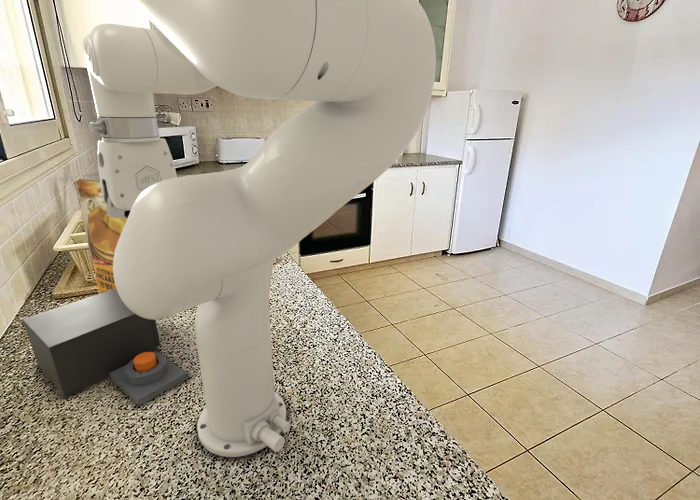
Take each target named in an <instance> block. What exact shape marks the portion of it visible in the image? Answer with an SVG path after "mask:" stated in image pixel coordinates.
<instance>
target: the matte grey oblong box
mask: <svg viewBox="0 0 700 500" xmlns="http://www.w3.org/2000/svg"><path fill="white" fill-rule="evenodd" d="M21 321H22V323H23V325H24V328H25V331H26V332H25V333H26V335H27V337H28V340H29V343H30V346H31V349H32V352H33V354H34V357H35V360H36V363H37V366H38V367H39V369H40V370H41V371H42V372H43V374H44V375H45V376H46V377H47V378H48V379H49V381H50V382H51V383H52V384H53V386H54V387H55V388H56V389H57V390H58V392H59V393H60V394H61V396H63V398H64V399H67V398H69V397H71V396H73V395H75V394H77V393H79V392H81V391H83V390H85V389H87V388H88V387H91V386H93V385H96V384H98V383H100V382H101V381H103V380H106V379H107V378H110V375H109V373H111V372H113V371H115V370H117V369H119V368H121V367H123V366H125V365H127V364H128V363H129V362H130V361H131V360H133V359H134V358H135V357H136V356H137V355H139V354H141V353H144V352H154V351H157V350H156V349H157V348H155V344H154V339H153V334H152V329H151V324H150V319H146V318H143V317H140V316H138V315H137V314H135V313H133V312H132V311H131V310H130V309H129V308H128V307H127V306H126V305H125V304H124V302H123V301H122V300H121V298H120V296H119V294H118V292H117V289H116V288H115V289H112V290H109V291H106V292H103V293H100V294H99V293H98V294H95V295H92V296H91V295H90V296H89V297H86V298H82V299H79V300H76V301H73V302H70V303H67V304H63V305H61V306H58V307H55V308H53V309H49V310H46V311H42V312H40V313H37V314H34V315H31V316H27V317H25V318H22V320H21Z"/></svg>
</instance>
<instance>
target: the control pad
mask: <svg viewBox="0 0 700 500" xmlns="http://www.w3.org/2000/svg"><path fill="white" fill-rule="evenodd" d="M153 353H154V354H155V357H156V361H157V365H156V366H155V367H154V368H152V369H151V370H149V371H144V372H137V371H136V370H135V365H134V359H133V360H131V361H130V362H129V363H128V364H127V365H125V366H123V367H121V368H119V369H117V370H115V371H113V372H111V373H109V375H110V376H109V378H110V380H111V381H112V382H113V383H114V384H116V386H118V387H119V389H121V390H122V392H124V393H125V394H126V395H127V397H129V398H130V399H131V400H132V401H133V402H134V403H135V404H136V405H137V406H142V405H143V404H145V403H147V402H148V401H151V400H152V399H154V398H156V397H157V396H159V395H161V394H163V393H164V392H166V391H168V390H169V389H172V388H173V387H174V386H176V385H179V384H180V383H181V382H183V381H185V380H187V379H188V376H187V372H186V371H184V370H183V369H182V368H181V367H179V366H177V365H176V364H175V363H174V362H173V361H171V360H170V359H168V358H167V357H166V356H165V355H164V354H162V353H160V352H159V351H157V350H156V351H154V352H153Z"/></svg>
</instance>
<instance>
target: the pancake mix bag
mask: <svg viewBox="0 0 700 500" xmlns="http://www.w3.org/2000/svg"><path fill="white" fill-rule="evenodd" d="M72 183H73V185H74V187H75V190H76V191H75V192H76V194H77V200H78V204H79V207H80V212H81V217H82V224H83V227H84V231H85V233H84V234H85V239H86V243H87V246H88V249H89V252H90V256H91V259H92V263H93V269H94V276H95V281H96V288H97V292H98V294H100V293H103V292H106V291H109V290H112V289H115V288H116V286H115V282H114V277H113V258H114V253H115V249H116V246H117V243H118V240H119V238H120V235H121V233H122V231H123V228H124V226H125V223H126V221H127V218H112V217H110V216H108V215H107V204H106V203H105V201H104V198H103V195H102V190H101V184H100V180H96V179H83V178H82V179H81V178H79V179H76V180H75V181H73V182H72Z"/></svg>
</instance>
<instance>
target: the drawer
mask: <svg viewBox="0 0 700 500" xmlns="http://www.w3.org/2000/svg"><path fill="white" fill-rule="evenodd" d="M150 324H151V329H152V334H153V339H154V344H155V349H157V348H158V347H159V346H161V341H160V336H159V331H158V330H159V329H158V326H157V319H156V320H153V319H150Z"/></svg>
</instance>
